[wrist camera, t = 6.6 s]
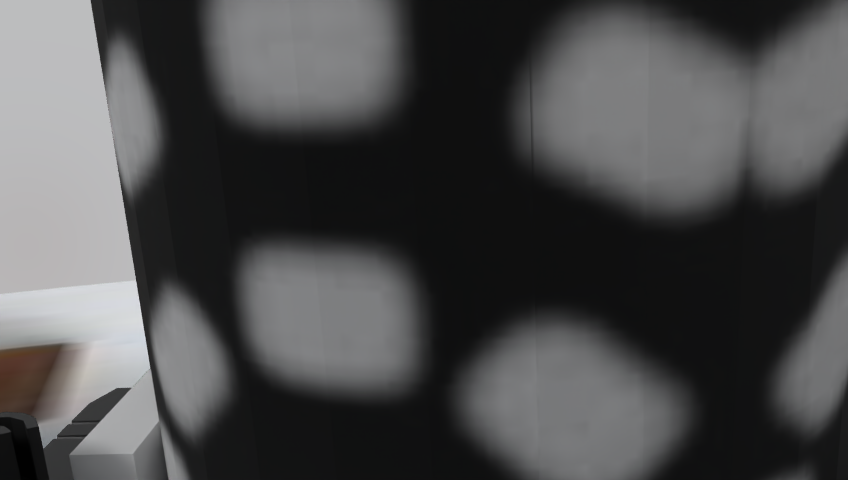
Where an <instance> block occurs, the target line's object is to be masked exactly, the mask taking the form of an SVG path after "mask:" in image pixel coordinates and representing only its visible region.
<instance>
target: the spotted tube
mask: <svg viewBox="0 0 848 480" xmlns="http://www.w3.org/2000/svg"><path fill="white" fill-rule="evenodd" d="M91 4H92V11H93V17H94V23H95V30H96V36H97V42H98V48H99V54H100V61H101V67H102V72H103V79H104V85H105V91H106V97H107V104H108V110H109V116H110V122H111V128H112V134H113V140H114V147H115V153H116V158H117V165H118V171H119V177H120V183H121V190H122V195H123V202H124V208H125V214H126V220H127V226H128V232H129V239H130V245H131V251H132V257H133V263H134V270H135V276H136V282H137V288H138V294H139V300H140V306H141V313H142V319H143V325H144V331H145V337H146V343H147V349H148V356H149V362H150V368H151V374H152V380H153V386H154V392H155V399H156V405H157V411H158V417H159V423H160V429H161V435H162V442H163V448H164V454H165V460H166V466H167V472H168V478H169V480H848V0H91Z"/></svg>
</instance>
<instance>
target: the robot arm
mask: <svg viewBox="0 0 848 480" xmlns="http://www.w3.org/2000/svg"><path fill="white" fill-rule="evenodd" d="M0 480H169V478H168V472H167V466H166V460H165V454H164V448H163V442H162V435H161V429H160V423H159V417H158V411H157V405H156V399H155V392H154V386H153V380H152V374H151V368H150V369H149V370H148V371H147V372H146V373H145V374H144V375H143V376H142V378H141V379H140V380H139V381H138V382H137V383H136V384H135V385H134V386H133V387H132V388H117V389H115V390H113V391H111V392H109V393H108V394H106V395H104V396H102V397H100V398H99V399H97V400H95V401H93V402H91V403H90V404H88V405H87V406H86V407H85V408H84V409H83V410H82V411H81V412H80V413H79V414H78V415H77V416H76V417H75V418H74V419H73V420H72V424H68V425H67V426H66V427H65V428H64V429H63V430H62V431H61V432H60V433H59V434H58V435H57V439H53V440H52V441H51V442H50V443H49V444H48V445H47V446H46V447H45V448H44V449H43V446H42V441H41V437H40V432H39V427H38V424H37V421H36V418H34V417H32V416H30V415H28V414H25V413H15V412H2V413H0Z"/></svg>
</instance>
